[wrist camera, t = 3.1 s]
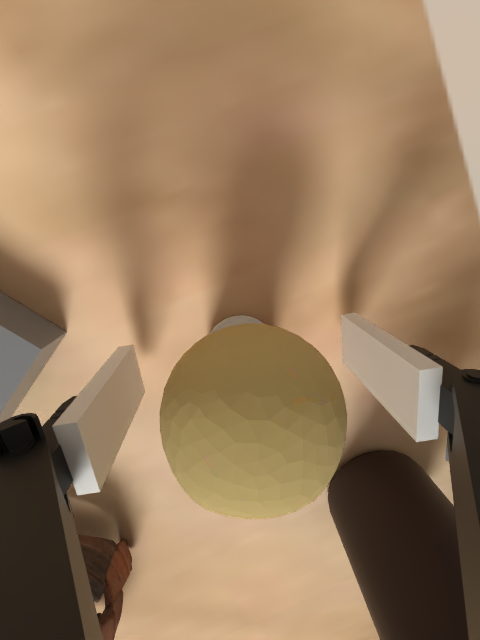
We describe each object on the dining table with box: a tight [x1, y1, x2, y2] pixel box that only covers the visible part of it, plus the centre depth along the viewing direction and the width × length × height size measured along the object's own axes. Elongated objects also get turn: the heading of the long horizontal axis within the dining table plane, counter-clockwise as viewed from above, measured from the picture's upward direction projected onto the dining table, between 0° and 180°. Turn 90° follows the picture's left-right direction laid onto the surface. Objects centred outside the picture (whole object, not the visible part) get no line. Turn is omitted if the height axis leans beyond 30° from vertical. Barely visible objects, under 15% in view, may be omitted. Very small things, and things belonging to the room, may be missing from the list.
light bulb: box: [160, 315, 347, 519], centre depth 13 cm, size 6×6×10 cm
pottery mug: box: [78, 535, 132, 640], centre depth 20 cm, size 12×10×8 cm
